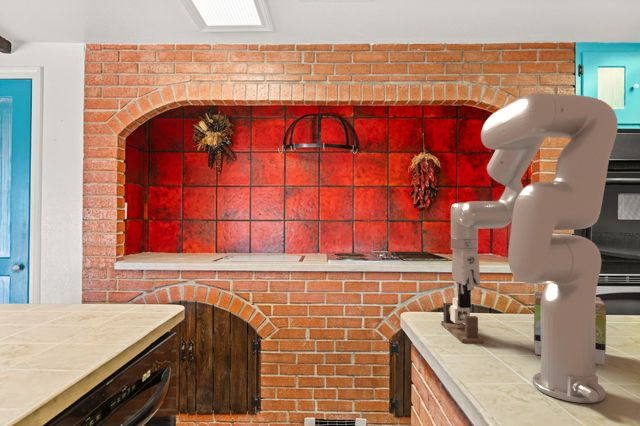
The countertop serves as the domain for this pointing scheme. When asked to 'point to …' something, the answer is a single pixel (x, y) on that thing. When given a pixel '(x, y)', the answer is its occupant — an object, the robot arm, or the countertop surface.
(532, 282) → the robot arm
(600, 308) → the tea box
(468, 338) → the rail
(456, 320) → the sleeve
